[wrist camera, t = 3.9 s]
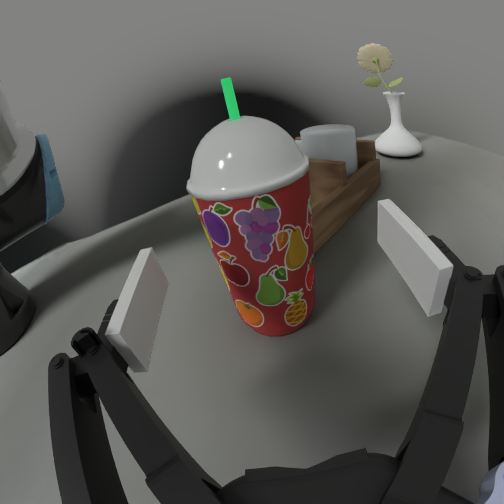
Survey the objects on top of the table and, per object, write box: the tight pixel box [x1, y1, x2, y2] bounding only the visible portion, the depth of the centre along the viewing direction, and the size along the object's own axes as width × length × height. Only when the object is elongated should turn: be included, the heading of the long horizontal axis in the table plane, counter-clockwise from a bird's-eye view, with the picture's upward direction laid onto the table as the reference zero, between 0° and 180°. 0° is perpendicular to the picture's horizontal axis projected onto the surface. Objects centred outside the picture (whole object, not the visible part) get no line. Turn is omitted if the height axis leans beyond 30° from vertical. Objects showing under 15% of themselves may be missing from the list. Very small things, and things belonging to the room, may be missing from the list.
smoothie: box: [187, 78, 315, 336], centre depth 21 cm, size 8×8×20 cm
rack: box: [295, 137, 380, 254], centre depth 42 cm, size 16×24×8 cm, turn 138°
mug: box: [295, 124, 358, 179], centre depth 43 cm, size 10×8×9 cm
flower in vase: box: [356, 43, 423, 157], centre depth 51 cm, size 13×11×25 cm
